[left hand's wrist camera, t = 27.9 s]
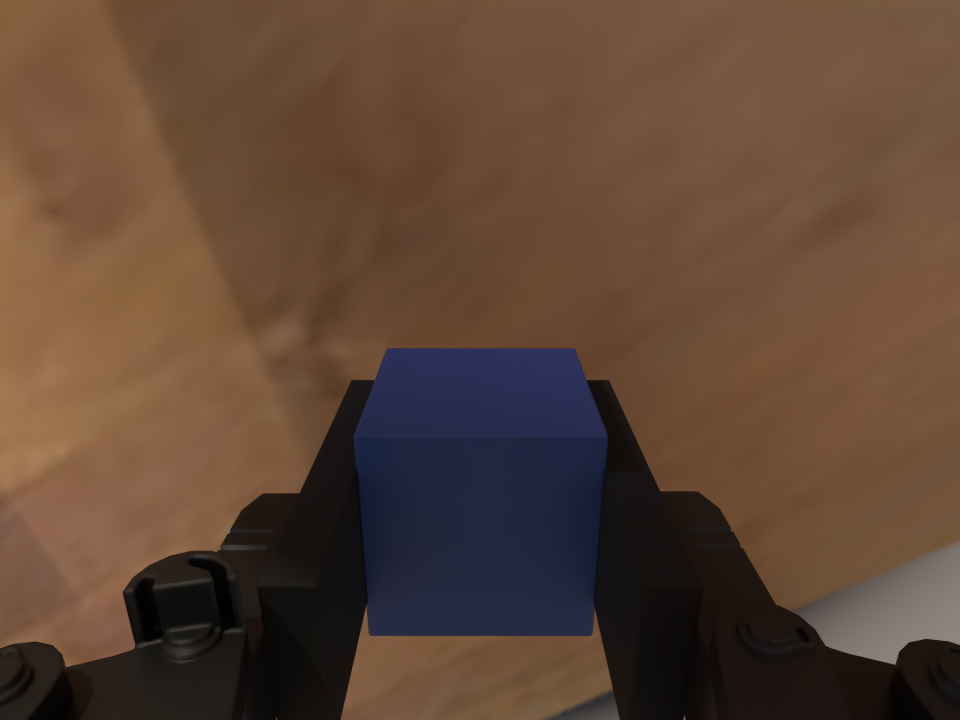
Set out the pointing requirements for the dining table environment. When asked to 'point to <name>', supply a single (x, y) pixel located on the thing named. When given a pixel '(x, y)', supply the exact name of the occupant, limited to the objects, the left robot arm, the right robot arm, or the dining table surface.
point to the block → (480, 493)
